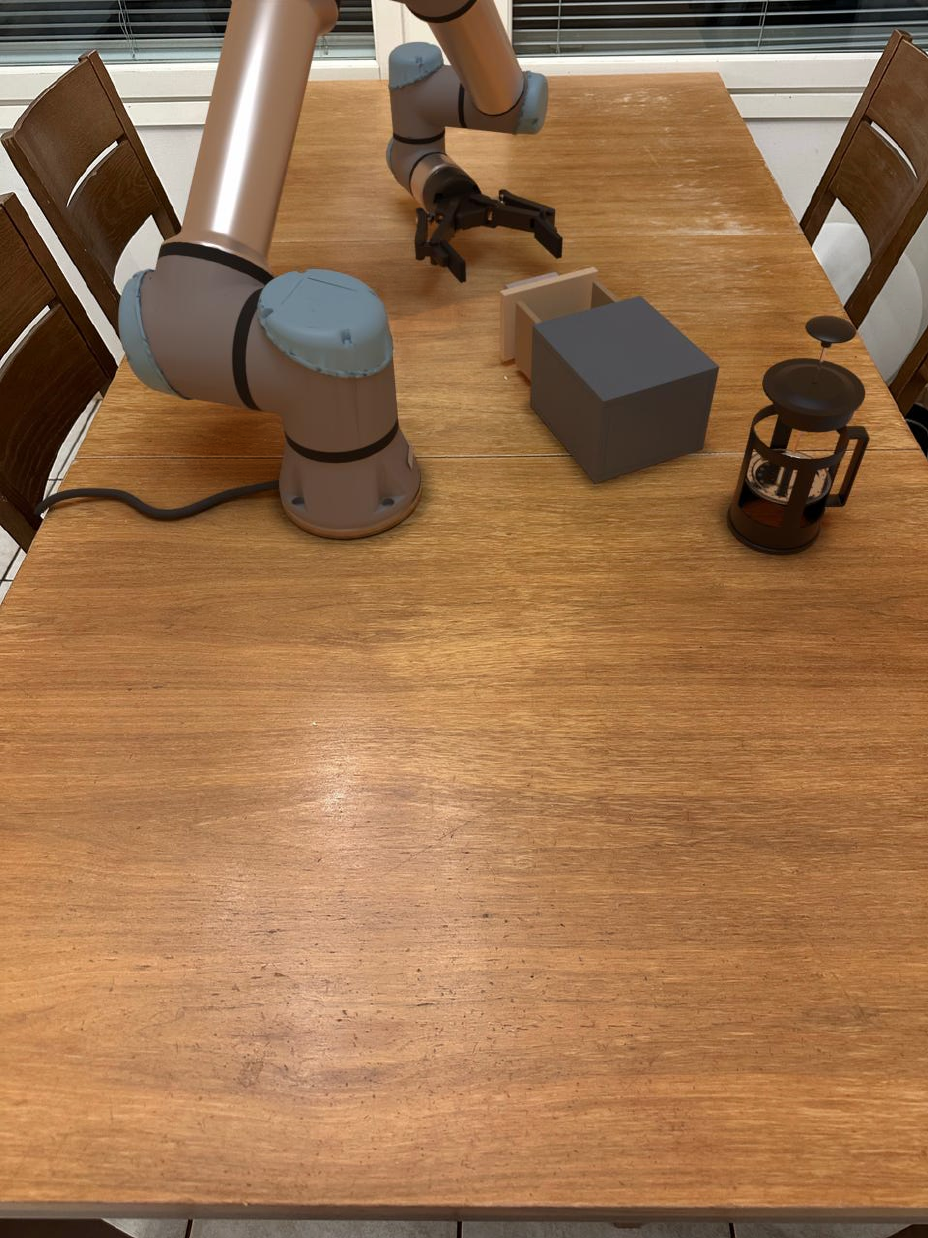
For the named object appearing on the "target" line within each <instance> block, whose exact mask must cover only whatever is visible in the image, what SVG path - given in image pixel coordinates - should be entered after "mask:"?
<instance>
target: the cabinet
mask: <svg viewBox="0 0 928 1238" xmlns="http://www.w3.org/2000/svg"><path fill="white" fill-rule="evenodd" d="M719 371H720V365H719V364H717V363H716V362H715V361H714V360H713V359H712V358H711V357H709V356H708V355H707V354H706V353H705V351H703V350H702V349H701V348H700V347H699V346H697V345H696V344H695V343H694V341H692V340H691V339H690V338H688V337H687V336H686V334H684V333H683V332H682V331H681V330H680V329H678V327H676V326H675V325H674V324H673V323H672V322H670V320H669V319H667V317H665V316H664V315H663V314H662V313H661V312H660V311H658V310H657V309H656V308H655V307H654V306H653V305H651V303H649V302H648V300H646V299H645V298H644V297H643V296H642V295H637V296H633V297H630V298H626V299H622V300H620V301H618V302H615V303H611V304H607V305H603V306H600V307H596V308H592V309H589V310H585V311H581V312H578V313H574V314H570V315H567V316H563V317H559V318H556V319H552V320H548V321H545V322H541V323H537V324H533V325H532V357H531V381H530V390H529V391H530V392H529V406H530V408H531V409H532V410H533V411H534V412H535V414H536V415H537V416H538V417H539V418H540V420H541V421H542V423H544V424H545V426H546V427H547V428H548V430H549V431H550V432H551V433H552V434H553V435H554V436H555V438H556V439H557V441H558V442H559V443H560V444H561V445H562V446H563V447H564V448H565V450H566V451H567V452H568V454H570V456H571V457H572V458H573V459H574V460H575V462H576V463H577V464H578V465H579V467H580V468H581V469H582V470H583V471H584V473H585V474H586V475H587V476H588V478H589V479H590V480H591V481H592V482H593V484H594V485H597V484H600V483H602V482H606V481H608V480H612V479H615V478H618V477H620V476H624V475H627V474H630V473H634V472H636V471H640V470H642V469H646V468H649V467H652V466H655V465H658V464H661V463H664V462H667V461H670V460H673V459H676V458H677V459H678V458H680V457H682V456H686V455H689V454H691V453H695V452H698V451H701V450H703V449H704V444H705V440H706V434H707V429H708V424H709V420H710V415H711V410H712V405H713V401H714V396H715V390H716V385H717V381H718V376H719Z"/></svg>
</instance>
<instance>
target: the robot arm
mask: <svg viewBox="0 0 928 1238" xmlns="http://www.w3.org/2000/svg"><path fill="white" fill-rule="evenodd" d="M230 1H231V5H230V10H229V14H228V19H227V22H226V23H227V24H226V27H225V31H224V36H223V42H222V45H221V51H220V55H219V59H218V64H217V69H216V73H215V76H214V80H213V86H212V90H211V95H210V99H209V103H208V107H207V108H208V109H207V113H206V117H205V123H204V127H203V131H202V134H201V135H202V136H201V140H200V144H199V149H198V154H197V158H196V161H195V166H194V171H193V176H192V180H191V185H190V189H189V193H188V198H187V203H186V206H185V212H184V216H183V220H182V225H181V229H180V232H178V233H177V234H175V235H174V236H171V237H169V238H167V239H164V240H163V241H162V243H161V244H160V246H159V250H158V254H157V260H156V264H155V267H154V269H153V268H146V269H144V270H140V271H136V272H135V273H134V274H132V277H131V278H129V279H127V281H126V283H125V284H124V287H123V289H122V291H121V294H120V299H119V303H118V305H119V306H118V313H117V314H118V318H117V322H118V323H117V324H118V331H119V332H118V334H119V339H120V345H121V348H122V350H123V352H124V354H125V357H126V362H127V364H128V366H129V367H130V370H131V371H132V372H133V374H134V375H135V377H136V378H137V379H138V380H139V382H141V383H142V384H143V385H144V386H146V388H149V389H150V390H153V391H154V392H158V393H163V394H167V395H170V396H175V397H178V398H179V399H181V400H182V401H183V400H184V401H194V400H196V401H202V402H208V403H213V404H218V405H219V404H220V405H223V406H229V407H235V408H239V409H247V410H251V411H257V412H263V413H269V414H275V415H278V416H279V417H280V419H281V423H282V427H283V432H284V436H285V445H284V450H283V455H282V461H281V468H280V471H279V478H278V479H274V480H269V481H264V482H260V483H254V484H249V485H244V486H239V487H235V488H230V489H226V490H224V491H220V492H218V493H216V494H213V495H210V496H208V497H206V498H203V499H201V500H198V501H196V502H194V503H191V504H188V505H185V506H182V507H178V508H170V509H169V508H167V509H166V508H157V507H154V506H151V505H149V504H147V503H145V502H144V501H143V500H141V499H139V498H138V497H137V496H135V495H133V494H131V493H130V492H127V491H125V490H122V489H118V488H117V489H116V488H106V487H105V488H103V487H79V488H70V489H65V490H60V491H58V492H55V493H53V494H51V495H49V496H47V497H46V498H44V499H42V501H40V502H39V503H38V504H37V505H36V507H35V508H34V510H33V514H34V515H42V514H45V512H46V511H47V510H48V509H49V508H50V507H52V506H54V505H56V504H58V503H60V502H63V501H67V500H70V499H78V498H79V499H80V498H105V499H117V500H121V501H123V502H126V503H127V504H129V505H131V506H132V507H133V508H135V509H136V510H138V511H139V512H140V513H142V514H144V515H146V516H149V517H151V518H156V519H163V520H165V519H167V520H168V519H169V520H171V519H180V518H183V517H184V518H185V517H188V516H191V515H193V514H197V513H199V512H201V511H203V510H205V509H209V508H210V507H212V506H215V505H218V504H220V503H223V502H226V501H228V500H232V499H236V498H241V497H245V496H251V495H255V494H260V493H265V492H270V491H275V490H278V492H279V497H280V501H281V506H282V509H283V511H284V513H285V515H286V516H287V518H288V519H289V520H290V521H291V522H292V523H293V524H295V525H296V526H297V527H299V528H300V529H302V530H304V531H305V532H308V533H310V534H312V535H315V536H318V537H323V538H329V539H339V540H340V539H341V540H350V539H359V538H364V537H370V536H373V535H376V534H380V533H382V532H385V531H388V530H389V529H391V528H393V527H395V526H396V525H398V524H400V523H402V522H403V520H405V519H406V518H407V517H408V516H409V515H410V514H411V513H412V512H413V511H414V509H415V508H416V506H417V505H418V503H419V501H420V498H421V495H422V477H421V476H422V475H421V469H420V466H419V463H418V460H417V458H416V456H415V453H414V447H413V446H414V445H413V444H412V442H411V441H409V442H408V441H407V438H406V436H405V435H404V433H403V431H402V428H401V427H400V422H399V411H398V399H397V387H396V377H395V374H396V373H395V365H394V339H393V336H392V333H391V328H390V324H389V323H390V322H389V318H388V312H387V309H386V307H385V306H386V305H385V304H384V301H382V300H381V299H380V298H379V296H378V294H377V293H376V291H375V290H374V289H373V288H371V287H370V286H369V284H367V283H366V282H364V281H362V280H360V279H359V278H357V277H354V276H352V275H350V274H347V273H344V272H340V271H336V270H330V269H323V268H307V269H305V271H304V272H300V271H297V270H292V271H289V272H285V273H283V274H279V275H278V276H277V274H276V273H275V271H274V270H273V269H272V267H271V265H270V263H269V256H270V251H271V248H272V243H273V238H274V234H275V229H276V225H277V221H278V215H279V212H280V207H281V202H282V197H283V194H284V190H285V189H284V188H285V185H286V180H287V175H288V171H289V166H290V162H291V158H292V153H293V148H294V145H295V139H296V135H297V131H298V126H299V122H300V118H301V114H302V113H301V112H302V109H303V104H304V100H305V95H306V90H307V86H308V82H309V78H310V74H311V73H310V72H311V68H312V64H313V59H314V55H315V50H316V47H317V46H316V45H317V41H318V38H320V37H323V36H324V35H327V34H328V33H330V32H332V30H333V29H334V28H335V27H336V25H337V22H338V18H339V15H340V9H341V6H342V2H343V0H230ZM390 1H392V2H394V3H399V4H403V5H405V7H406V8H407V9H408V11H409V12H410V13H411V14H412V15H413V16H414V17H415V18H416V19H418V20H420V21H421V22H424V23H426V24H427V25H428V27H429V29H430V31H431V32H432V34H433V36H434V38H435V39H436V42H437V43H438V45H439V46H438V45H436V44H435V43H434V44H433V43H429V42H428V41H427V42H426V41H410V42H405V43H402V44H399V45H397V46H396V47H394V49H393V50H391V51H390V53H389V55H388V84H387V89H388V92H389V104H390V114H391V125H392V136H391V137H390V139H389V141H388V144H387V147H386V149H385V160H386V165H387V167H388V169H389V171H390V173H391V174H392V175H393V176H394V179H395V180H396V182H397V183H398V184H399V185H400V186H401V187H403V188H404V190H406V191H407V193H408V194H409V195H411V197H412V198H413V199H414V200H415V201H416V202H417V203H418V204H419V205H420V206H421V207H417V208H415V210H414V212H415V213H414V214H415V227H416V229H415V235H414V254H415V255H414V256H415V260H416V261H418V262H419V261H420V262H421V261H425V259H426V258H429V263H430V265H431V266H439V267H440V268H444V269H445V268H447V269H448V270H449V271H450V273H451V274H452V275H453V276H454V277H455V278H456V280H457V281H458V282H459V283H460V284H463V283H466V282H467V268H466V267H467V262H466V260H465V259H464V258H463V256H461V254H459V252H458V251H457V250H456V249H455V248H454V246H453V245H451V243H450V242H451V240H452V239H454V238H455V237H456V235H457V234H458V232H460V231H461V230H462V231H466V230H467V231H468V230H470V229H472V228H480V227H485V228H489V229H496V228H497V227H501V228H505V229H512V230H516V231H521V232H526V233H531V234H533V238H534V239H535V240H536V241H537V242H538V243H539V244H540V245H541V246H542V247H543V248H544V249H545V250H546V251H547V252H549V254H551V255H552V256H553V257H554V258H555V259H556V260H559V259H562V258H563V242H564V241H563V240H564V237H562V235H560V233H559V232H558V228H557V227H556V209H555V208H554V207H552V206H548V205H545V204H543V203H540V202H537V201H534V200H531V199H527V198H524V197H522V196H518V195H516V194H513V193H512V192H510V191H509V190H508V189H505V188H501V189H499V190H498V195H497V196H494V197H490V196H489V195H486V194H483V193H482V190H481V189H480V187H479V185H478V184H477V182H476V181H475V180H474V179H473V178H472V177H471V176H470V175H469V174H468V173H467V172H466V171H465V170H464V169H463V168H462V167H461V166H460V165H459V164H457V163H456V162H455V161H454V160H453V159H452V158H451V157H450V156H449V155H448V154H447V152H446V128H453V129H465V130H472V131H481V132H482V131H483V132H491V133H500V134H507V135H513V136H517V135H527V136H534V135H537V134H539V133H540V132H541V131H542V130H543V128H544V125H545V122H546V118H547V112H548V107H549V82H548V79H547V77H546V76H545V75H544V74H542V73H540V72H533V71H531V70H522V68H521V65H520V63H519V61H518V58H517V56H516V53H515V51H514V48H513V46H512V43H511V40H510V38H509V35H508V33H507V30H506V28H505V25H504V22H503V21H502V18H501V15H500V13H499V10H498V8H497V6H496V3H495V1H494V0H390ZM443 54H444V56H445V57H446V59H447V61H448V63H449V64H445V62H444V61H445V59H444V56H443ZM490 215H491V219H490ZM434 222H435V223H436V224H437V227H436V229H434V232H433V233H432V235H431V236H430V238H429V231H430V230H431V226H432V225H433V223H434ZM428 239H429V240H428Z"/></svg>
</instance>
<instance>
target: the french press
mask: <svg viewBox="0 0 928 1238" xmlns="http://www.w3.org/2000/svg"><path fill="white" fill-rule="evenodd" d="M804 327H805V328H804V329H805V331H806V333H807V334H808V335H809V336H810V337H811V338H813V339H814V340H817V341H819V342H820V346H821V347H822V349H821V353H820V355H819V359H818V358H811V357H798V358H796V357H795V358H790V359H785V360H782V361H779V362H776V363H774V364H773V365H771V366H770V367H769V368H768V369H766V371H765V373H764V375H763V376H762V381H761V383H762V384H761V385H762V390H763V392H764V394H765V396H766V397H767V399H769V400H770V402H771V404H769V405H768V404H767V405H766V406H764V407H762V408H760V409H759V410H758V411H757V412H756V413H755V415H754V416H753V418H752V421H751V425H750V429H749V434H748V439H747V441H746V446H745V450H744V454H743V459H742V462H741V467H740V470H739V475H738V478H737V483H736V486H735V489H734V493H733V497H732V501H731V503H730V505H729V507H728V509H727V513H726V524H727V527H728V529H729V531H730V533H731V534H732V536H733V537H734V538H736V539H737V541H738V542H740V543H742V545H745V546H746V547H748V548H750V549H752V550H753V551H754V550H755V551H757V552H759V553H763V554H767V555H768V554H769V555H776V556H786V555H787V556H788V555H795V554H799V553H802V552H804V551H806V550H808V549H809V548H811V547H812V546H813V545H814V544H815V543H816V542H817V540H818V538H819V536H820V533H821V528H822V527H821V523H822V521H823V518H824V516H825V511H826V508H844V507H845V506H846V504H847V502H848V500H849V496H850V494H851V491H852V488H853V485H854V483H855V480H856V477H857V474H858V472H859V469H860V466H861V464H862V461H863V459H864V455H865V453H866V450H867V449H868V445H869V443H870V436H869V433H868V430H867V428H866V427H865V426H864V425H848V424H849V423H850V421H852V418H853V417H854V414H855V412H856V411H857V410H859V409H860V408H861V407H862V405H863V403H864V401H865V399H866V388H865V385H864V383H863V382H862V380H861V379H860V378H859V377H858V376H857V375H856V373H853V371H851V370H850V369H848V368H846V367H844V366H842V365H839V364H837V363H835V362H831V361H829V360H825V357H826V353H827V350H828V349H830V348H831V347H832V345H833V344H844V343H847V342H850V341H853V340H854V338H856V336H857V329H856V327H855V325H854V324H853V323H851V322H850V321H849V320H846V319H845V318H842V317H839V316H834V315H818V316H814V317H812V318H810V319H808V320H807V322H806V323H805V326H804ZM772 416H777V419H776V422H775V425H774V430H773V431H772V432H773V433H772V436H771V439H770V442H769V443H770V444H769V446H768V445H767V444H765V443H764V442H763V441H762V440H761V438H760V437H759V436H758V434H757V433H756V430H755V426H756V425H758V423H759V422H761V421H763V420H764V419H767V418H769V417H772ZM793 430H796V431H797V434H796V438H795V441H794V444H793V448H792V449H788V446H789V442H790V439H791V435H792V432H793ZM834 431H836V432H837V434H838V435H839V436H838V439H837V442H836V445H835V449H834V452H833V454H831V455H828V456H824V457H818V458H814V457H813V456H811V455H809V454H806V453H804V452H801V451H798V450H797V449H798V446H799V443H800V440H801V436H802V433H803V432H805V433H815V434H819V433H820V434H821V433H828V432H834ZM854 440H856V444H855V446H854V448H853V452H852V455H851V457H850V460H849V463H848V466H847V468H846V472H845V474H844V477H843V480H842V482H841V486H840V488H839V491H838V493H831V491H832V489H833V486H834V484H835V483H834V482H835V479H836V476H837V474H838V472H839V468H840V465H841V462H842V459H843V458H844V456H845V454H846V452H847V450H848V446H849V444H850V441H854ZM754 451H755V452H756V453H754ZM761 500H762V501H764V502H767V503H769V504H772V505H774V506H778V507H782V508H783V507H784V508H785V510H784V512H783V516H782V519H781V522H780V526H779V527H778V526H772V525H768V524H766V523H763V522H760V521H758V520H756V519H754V518H753V517H751V516H750V515H748V513H746V511H744V510H743V509H744V508H745V507H746V506H747V505H749V504H750V503H751V504H752V503H753V502H757V501H761ZM803 517H804V518H805V521H806V525H804V526H800V523H801V520H802V518H803Z"/></svg>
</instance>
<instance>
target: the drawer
mask: <svg viewBox="0 0 928 1238" xmlns="http://www.w3.org/2000/svg"><path fill="white" fill-rule="evenodd" d="M618 301H621V300H620V298H618V296H616V295H615V294H614V293H613V292H612V291H611V290H610V289H609V288H607V287H606V286H605V285H604V283H602V281H600V280H599V270H598V269H597V268H596V267H595V266H591V267H586V268H583V269H579V270H575V271H571V272H567V273H564V274H560V275H559V273H558V272H557V271H551V272H548V273H545V274H540V275H536V276H533V277H530V278H525V279H521V280H518V281H517V280H516V281H513V282H510V283H506V284H504V285H503V289H502V290H500V291H499V358H500V359H501V360H502V361H503V362H505V361H509V360H513V359H514V364H515V365H516V366H517V367H518V369H519V370H520V371H521V373H523V375H524V376H525V377H526V378H527V379H528V381H530V382H531V357H532V325H533V324H537V323H541V322H545V321H548V320H552V319H556V318H559V317H563V316H567V315H570V314H574V313H578V312H581V311H585V310H589V309H592V308H596V307H600V306H603V305H607V304H611V303H615V302H618Z"/></svg>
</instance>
